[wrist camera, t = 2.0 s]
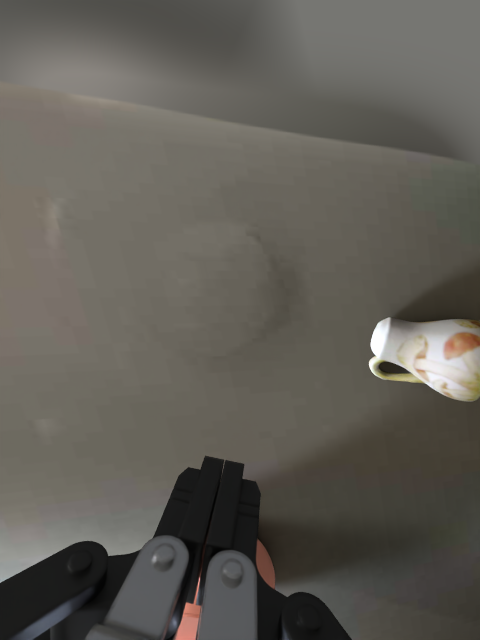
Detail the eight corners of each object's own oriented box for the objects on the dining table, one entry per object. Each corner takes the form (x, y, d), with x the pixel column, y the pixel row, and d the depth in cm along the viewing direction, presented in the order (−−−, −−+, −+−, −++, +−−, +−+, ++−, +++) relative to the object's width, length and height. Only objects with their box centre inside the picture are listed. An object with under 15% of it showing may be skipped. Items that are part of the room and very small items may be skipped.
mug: (367, 295, 33) (472, 305, 24) (430, 319, 37) (539, 335, 28) (345, 368, 33) (441, 406, 24) (410, 384, 38) (513, 421, 29)
